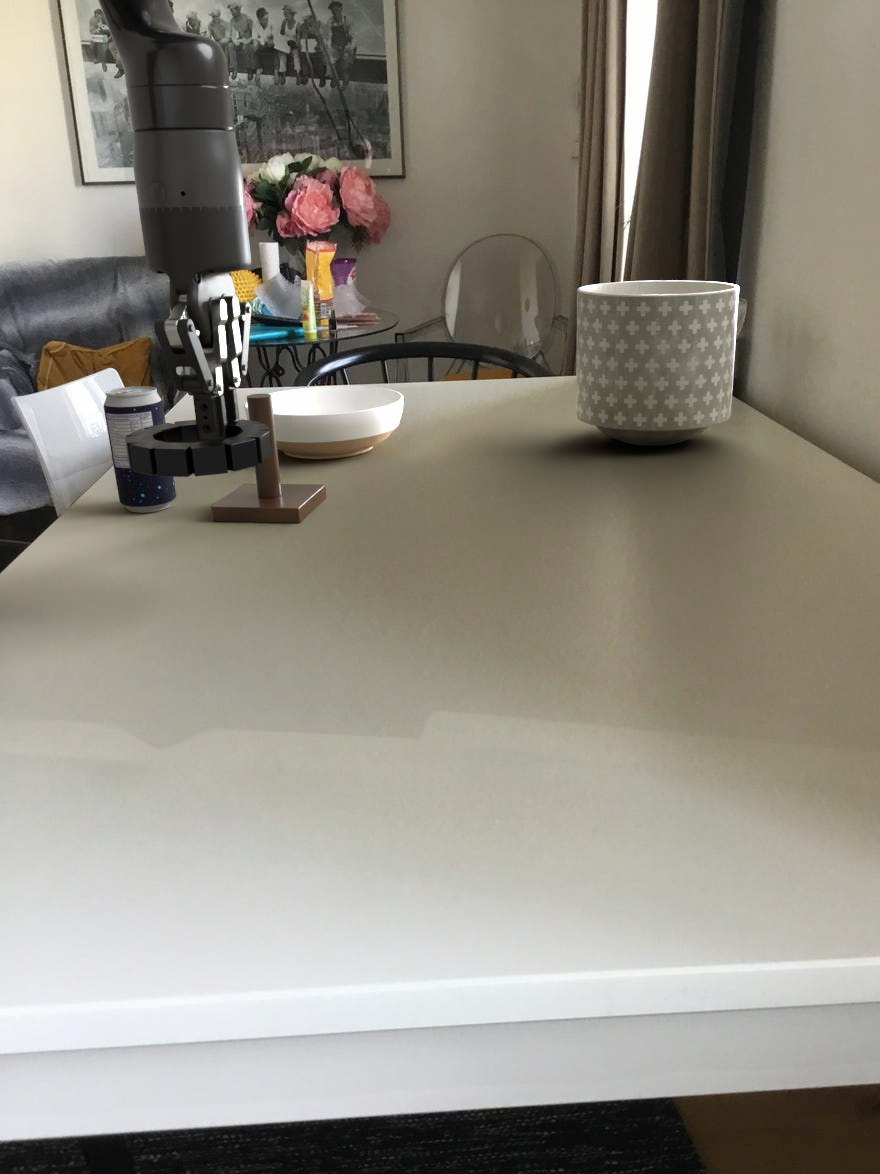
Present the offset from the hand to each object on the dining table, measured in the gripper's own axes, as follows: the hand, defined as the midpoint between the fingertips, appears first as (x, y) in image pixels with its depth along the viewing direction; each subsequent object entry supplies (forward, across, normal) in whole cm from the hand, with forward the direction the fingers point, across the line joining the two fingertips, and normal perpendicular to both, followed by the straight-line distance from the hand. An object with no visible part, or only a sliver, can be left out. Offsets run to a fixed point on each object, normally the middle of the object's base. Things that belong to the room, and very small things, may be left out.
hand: (220, 439), depth 83 cm
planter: (+12, +55, -34) cm, 66 cm away
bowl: (+12, +48, +6) cm, 50 cm away
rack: (+12, +21, +4) cm, 25 cm away
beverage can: (+12, +22, +18) cm, 30 cm away
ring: (+1, -4, 0) cm, 4 cm away
